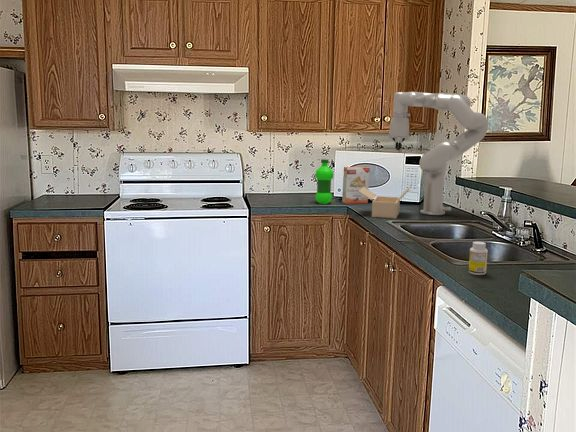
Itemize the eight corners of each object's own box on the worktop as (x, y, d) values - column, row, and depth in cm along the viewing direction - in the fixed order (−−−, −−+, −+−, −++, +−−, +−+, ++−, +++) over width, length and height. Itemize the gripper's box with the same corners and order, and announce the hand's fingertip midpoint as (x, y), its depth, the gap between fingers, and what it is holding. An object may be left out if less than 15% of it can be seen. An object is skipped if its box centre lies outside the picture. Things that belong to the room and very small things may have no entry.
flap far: (372, 199, 292) (371, 200, 292) (376, 194, 309) (375, 195, 309) (358, 191, 293) (358, 191, 293) (363, 186, 310) (363, 187, 311)
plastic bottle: (311, 202, 338) (313, 158, 334) (329, 201, 341) (330, 158, 337) (317, 204, 329) (318, 160, 324) (335, 204, 332) (336, 160, 327)
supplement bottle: (474, 270, 195) (476, 240, 194) (489, 273, 191) (491, 243, 189) (464, 272, 192) (467, 242, 190) (479, 276, 188) (482, 245, 186)
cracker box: (345, 204, 333) (346, 167, 330) (341, 202, 339) (343, 166, 336) (368, 203, 337) (370, 167, 334) (364, 202, 343) (365, 166, 339)
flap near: (400, 196, 306) (400, 196, 306) (397, 201, 289) (398, 201, 289) (410, 185, 304) (411, 185, 304) (408, 189, 286) (409, 189, 286)
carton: (399, 212, 309) (400, 197, 308) (395, 219, 289) (396, 202, 288) (376, 210, 312) (377, 196, 311) (371, 217, 292) (372, 201, 291)
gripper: (414, 116, 314) (412, 150, 318) (386, 115, 317) (384, 149, 321) (414, 116, 307) (412, 151, 310) (385, 115, 310) (383, 150, 313)
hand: (398, 150), depth 316 cm, fingers closed
